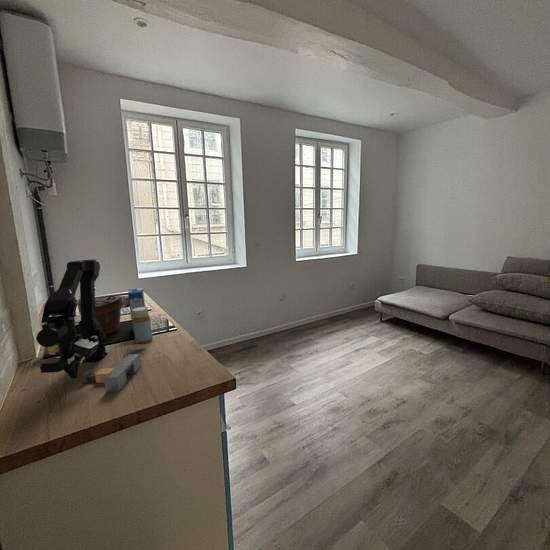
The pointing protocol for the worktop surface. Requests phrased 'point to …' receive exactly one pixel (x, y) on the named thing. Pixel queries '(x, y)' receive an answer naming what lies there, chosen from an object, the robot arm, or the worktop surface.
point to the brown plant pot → (108, 313)
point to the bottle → (142, 325)
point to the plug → (95, 375)
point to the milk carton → (136, 300)
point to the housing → (122, 373)
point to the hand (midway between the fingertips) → (74, 378)
